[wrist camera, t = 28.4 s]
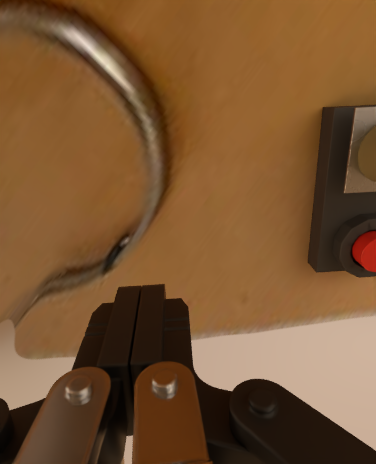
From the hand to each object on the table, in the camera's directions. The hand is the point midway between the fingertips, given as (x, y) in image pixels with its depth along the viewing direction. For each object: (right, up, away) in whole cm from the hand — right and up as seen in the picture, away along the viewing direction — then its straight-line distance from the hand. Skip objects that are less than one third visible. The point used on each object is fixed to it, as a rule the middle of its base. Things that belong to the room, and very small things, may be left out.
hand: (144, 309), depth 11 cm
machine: (+21, +7, +27) cm, 35 cm away
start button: (+21, +1, +25) cm, 33 cm away
